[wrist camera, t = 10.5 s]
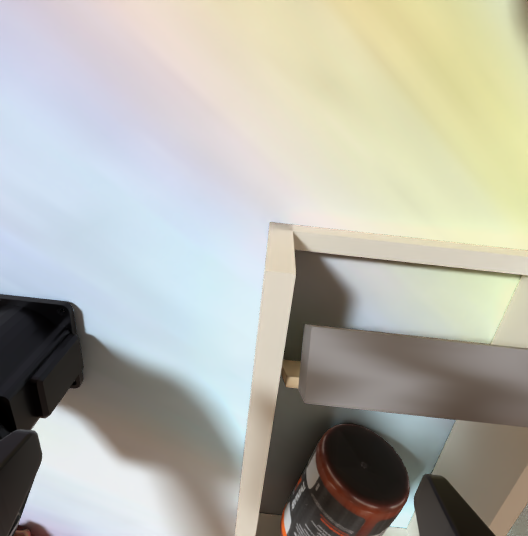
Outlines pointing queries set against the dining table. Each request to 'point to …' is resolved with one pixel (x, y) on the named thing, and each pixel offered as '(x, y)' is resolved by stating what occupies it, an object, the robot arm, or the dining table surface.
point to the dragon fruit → (22, 532)
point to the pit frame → (463, 432)
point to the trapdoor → (411, 375)
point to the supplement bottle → (347, 487)
